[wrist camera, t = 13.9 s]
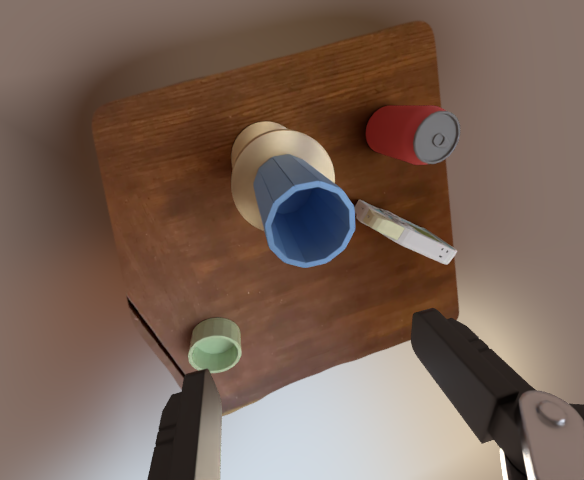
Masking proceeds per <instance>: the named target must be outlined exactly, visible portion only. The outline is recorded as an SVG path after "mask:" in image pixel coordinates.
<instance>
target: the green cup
mask: <svg viewBox="0 0 584 480" xmlns="http://www.w3.org/2000/svg"><path fill="white" fill-rule="evenodd" d="M240 357H241V336H240V330H239V327H238V326H237V325H236V324H235V323H234V322H233V321H231V320H229V319H225V318H210V319H207V320H204V321H202V322H201V323H199V324H198V325H197V326H196V327H195V328H194V330H193V332H192V336H191V340H190V346H189V352H188V359H189V362H190V364H191V365H192V366H193V367H194V368H195V369H197V370H203V369H206V368H207V369H208V370H209V371H210V373H219V372H223V371H226V370H228V369H230V368H232V367H234V365H235V364H236V363H237V362H238V361H239V359H240Z"/></svg>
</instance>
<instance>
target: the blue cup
mask: <svg viewBox="0 0 584 480" xmlns="http://www.w3.org/2000/svg"><path fill="white" fill-rule="evenodd" d="M253 184H254V185H253V186H254V191H255V196H256V200H257V204H258V208H259V212H260V216H261V219H262V223H263V227H264V231H265V235H266V238H267V242H268V246H269V248H270V249H271V250H272V251H273V252H274V253H275V254H276V255H277V256H278V257H279V258H280V259H281V260H282V261H283V262H285V263H287V264H291V265H295V266H299V267H303V268H307V267H312V266H316V265H320V264H325V263H326V262H329V261H330V260H332V259H333V258H334V257H335V256H337V255H338V254H339V253H341V252H342V251H343V250H344V248H346V246H347V244H348V242H349V240H350V238H351V236H352V234H353V232H354V231H355V208H354V205H353V204H352V202H351V201H350V200H349V198H348V197H347V195H346V194H345V192H344V191H343V190H342V189H341V188H340V187H339V186H337V185H336V184H335V183H333V182H332V181H331V180H329V179H328V178H327V177H325V176H324V175H323V174H321V173H320V172H319V171H317V170H316V169H315V168H313V167H312V166H311V165H310V164H308V163H307V162H306V161H304V160H303V159H300V158H298V157H295V156H293V155H290V154H285V155H279V156H274V157H271V158H270V159H269V160H268V161H266V162H265V163H264V164H263V165H262V166H261V167H259V169H258V171H257V174H256V177H255V180H254V183H253Z"/></svg>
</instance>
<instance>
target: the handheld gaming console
mask: <svg viewBox="0 0 584 480" xmlns="http://www.w3.org/2000/svg"><path fill="white" fill-rule="evenodd" d="M354 208H355V213H356V214H357V216H356V218H357V219H358V220H359V221H360V222H361V223H363V224H365V225H367V226H369V227H371V228H373V229H374V230H376V231H378V232H380V233H381V234H383V235H384V236H386V237H387V238H389V239H391V240H392V241H394V242H396V243H398V244H400V245H402V246H404V247H406V248H409V249H411V250H413V251H416V252H418V253H420V254H422V255H425V256H427V257H429V258H431V259H433V260H436V261H438V262H440V263H443V264H448V263H449V262H450V261H451V260H452V258H453V257H454V256H455V254H456V253H457V250H456V249H455V248H453V247H452V246H450V245H449V244H447V243H446V242H444V241H443V240H441V239H440V238H438V237H437V236H435V235H434V234H432V233H431V232H429V231H428V230H426V229H425V228H423V227H422V228H421V227H419V226H417V225H415V224H413V223H410V222H408V221H406V220H404V219H402V218H400V217H398V216H396V215H394V214H392V213H391V212H389V211H386V210H384V209H380V208H376V207H374V206H372V205H370V204H368V203H366V202H364V201H361V200H358V202H357V204H356V206H355V207H354Z"/></svg>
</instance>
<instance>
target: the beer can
mask: <svg viewBox="0 0 584 480" xmlns="http://www.w3.org/2000/svg"><path fill="white" fill-rule="evenodd" d="M459 137H460V124H459V122H458V119H457V117H456V116H455V115H454V114H453V113H450V112H448V111H446V110H444V109H442V108H440V107H438V106H385V107H382V108H380V109H378V110H377V111H376V112H375V113H374V114H373V115H372V116H371V118H370V119H369V121H368V124H367V127H366V140H367V143H368V145H369V146H370V148H371V149H372V150H374V151H375V152H378V153H380V154H384V155H387V156H390V157H393V158H396V159H399V160H402V161H405V162H408V163H411V164H414V165H426V164H436V163H438V162H441V161H443V160H444V159H446V158H447V157H448V156H449V155H450V154H451V153H452V152H453V150H454V149H455V147H456V145H457V143H458V140H459Z"/></svg>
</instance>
